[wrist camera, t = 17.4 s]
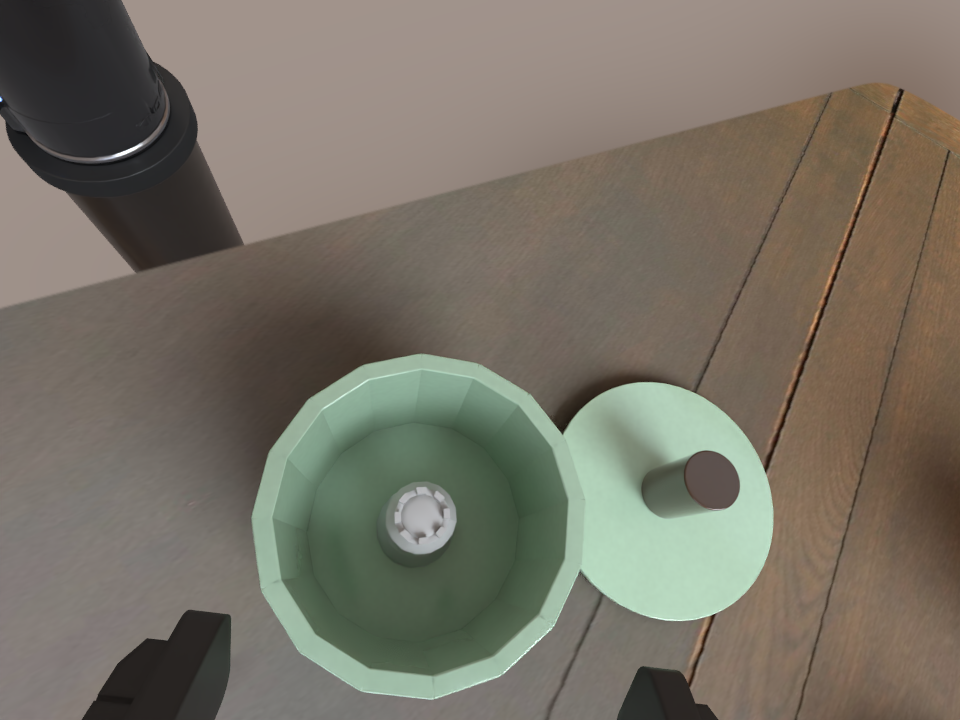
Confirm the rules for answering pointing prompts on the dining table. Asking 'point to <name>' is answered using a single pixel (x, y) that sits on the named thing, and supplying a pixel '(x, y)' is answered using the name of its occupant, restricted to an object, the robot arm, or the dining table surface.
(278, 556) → the jar
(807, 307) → the dining table surface
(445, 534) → the rook chess piece
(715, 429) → the jar lid
